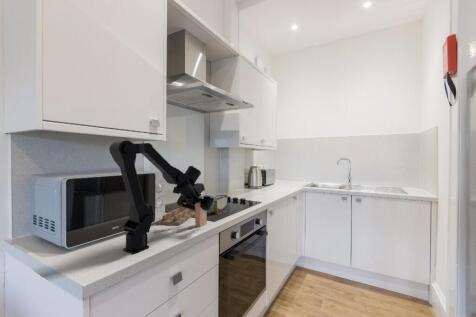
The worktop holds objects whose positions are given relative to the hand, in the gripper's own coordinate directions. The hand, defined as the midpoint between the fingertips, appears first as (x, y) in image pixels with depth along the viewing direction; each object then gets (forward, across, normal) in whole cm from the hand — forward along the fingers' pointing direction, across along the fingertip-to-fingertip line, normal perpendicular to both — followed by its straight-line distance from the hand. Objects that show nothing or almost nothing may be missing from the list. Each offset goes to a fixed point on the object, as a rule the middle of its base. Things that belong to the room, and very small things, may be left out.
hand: (202, 210), depth 110 cm
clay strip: (+4, 0, +6) cm, 7 cm away
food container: (+22, +8, -12) cm, 27 cm away
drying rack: (+5, +18, +4) cm, 19 cm away
